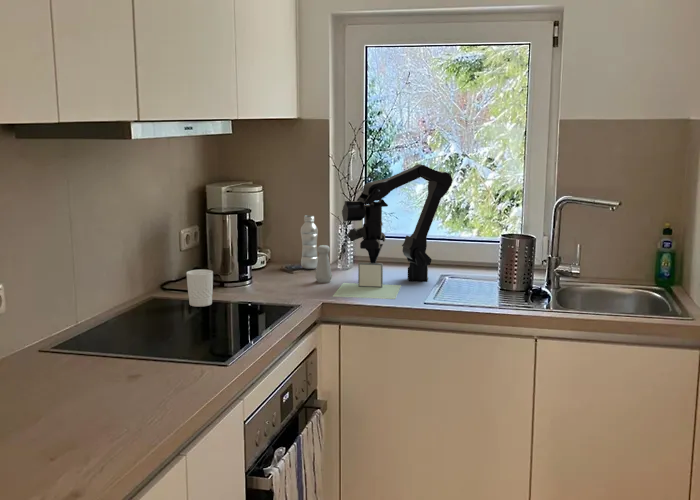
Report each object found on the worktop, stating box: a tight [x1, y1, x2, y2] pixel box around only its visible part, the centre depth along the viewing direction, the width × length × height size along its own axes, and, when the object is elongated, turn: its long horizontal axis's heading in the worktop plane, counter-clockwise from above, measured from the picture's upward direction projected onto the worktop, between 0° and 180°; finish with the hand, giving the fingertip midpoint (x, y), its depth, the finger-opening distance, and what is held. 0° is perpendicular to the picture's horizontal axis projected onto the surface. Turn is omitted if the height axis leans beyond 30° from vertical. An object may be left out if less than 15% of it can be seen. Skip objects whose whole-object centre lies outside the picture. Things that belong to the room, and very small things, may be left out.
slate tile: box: [357, 261, 384, 288], centre depth 251 cm, size 8×2×8 cm, turn 81°
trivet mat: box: [331, 282, 402, 300], centre depth 246 cm, size 20×20×1 cm
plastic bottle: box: [300, 215, 319, 270], centre depth 282 cm, size 6×7×20 cm
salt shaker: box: [314, 244, 333, 284], centre depth 258 cm, size 6×6×13 cm
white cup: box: [185, 269, 214, 308], centre depth 229 cm, size 8×8×10 cm
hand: (373, 265), depth 256 cm, fingers closed
